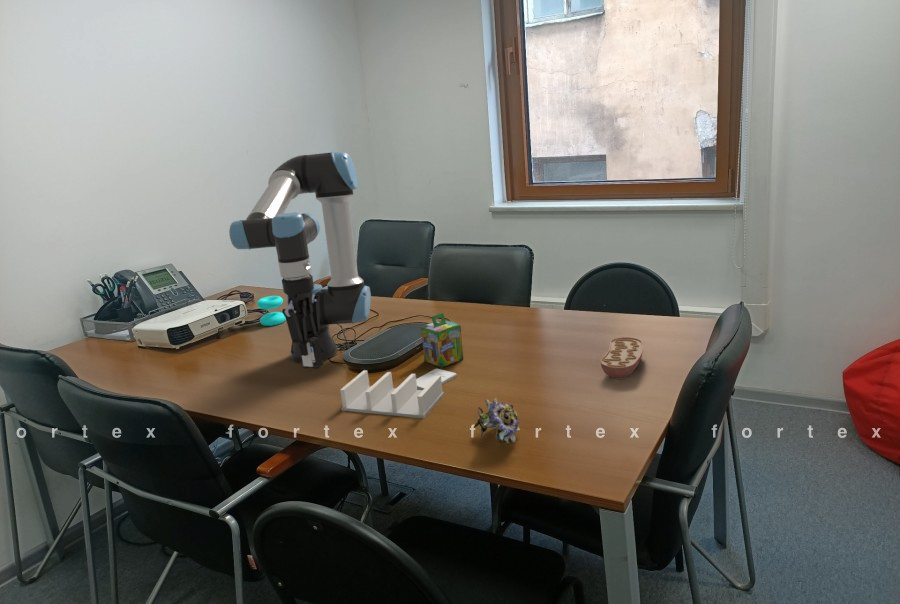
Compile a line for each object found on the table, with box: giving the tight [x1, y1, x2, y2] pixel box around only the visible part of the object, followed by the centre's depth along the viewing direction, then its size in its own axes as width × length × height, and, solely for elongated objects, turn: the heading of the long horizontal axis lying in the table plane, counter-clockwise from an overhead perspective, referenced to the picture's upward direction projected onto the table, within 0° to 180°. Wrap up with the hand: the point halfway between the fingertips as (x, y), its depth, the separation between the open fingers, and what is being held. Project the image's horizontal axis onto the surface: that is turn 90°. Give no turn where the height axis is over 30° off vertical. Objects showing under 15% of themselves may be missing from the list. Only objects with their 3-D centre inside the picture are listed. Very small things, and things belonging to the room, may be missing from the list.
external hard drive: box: [416, 368, 457, 390], centre depth 182 cm, size 2×8×12 cm
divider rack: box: [339, 369, 445, 419], centre depth 170 cm, size 14×24×6 cm, turn 69°
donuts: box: [256, 295, 286, 327], centre depth 249 cm, size 10×10×10 cm
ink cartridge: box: [298, 337, 324, 370], centre depth 163 cm, size 5×2×8 cm, turn 68°
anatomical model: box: [600, 336, 644, 380], centre depth 178 cm, size 23×10×5 cm, turn 156°
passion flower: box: [473, 397, 521, 445], centre depth 146 cm, size 11×11×12 cm
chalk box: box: [420, 312, 464, 368], centre depth 194 cm, size 9×9×15 cm
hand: (311, 363), depth 164 cm, fingers closed on ink cartridge, 2 cm apart
